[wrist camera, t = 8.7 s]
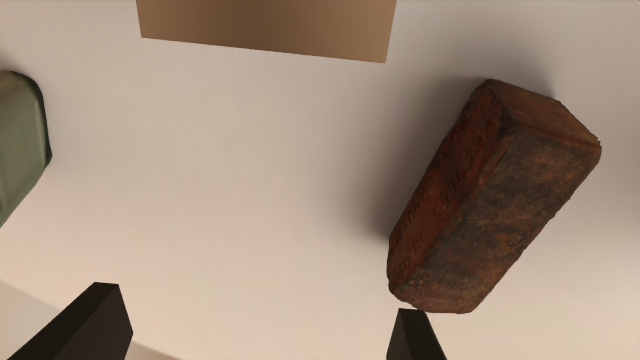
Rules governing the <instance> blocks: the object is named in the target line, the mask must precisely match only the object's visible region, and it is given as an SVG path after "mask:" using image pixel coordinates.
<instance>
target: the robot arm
mask: <svg viewBox="0 0 640 360" xmlns="http://www.w3.org/2000/svg"><path fill="white" fill-rule="evenodd" d="M132 336H133V330H132V327H131V324H130V320H129V317H128V314H127V311H126V308H125V304H124V301H123V298H122V295H121V291H120V288H119V285H118V284H112V283H100V282H94V283H93V284H92V285H91V286H89V287H88V288H87V289H86V290H85V291H84V292H83V293H82V294H80V295H79V296H78V297H77V298H76V299H75V300H74V301H73V302H72V303H70V304H69V305H68V306H67V307H66V308H65V309H64V310H63V311H62V312H61V313H60V314H58V315H57V316H56V317H55V318H54V319H53V320H52V321H51V322H50V323H48V324H47V325H46V326H45V327H44V328H43V329H42V330H41V331H39V332H38V333H37V334H36V335H35V336H34V337H33V338H32V339H30V340H29V341H28V342H27V343H26V344H25V345H23V346H22V347H21V348H20V349H19V350H18V351H17V352H15V353H14V354H13V355H12V356H11V357H10V358H8V359H7V360H124V359H125V356H126V353H127V350H128V347H129V344H130V342H131V339H132ZM386 359H387V360H447V358H446V356H445V354H444V352H443V350H442V348H441V346H440V344H439V342H438V340H437V337H436V335H435V333H434V331H433V329H432V326H431V324H430V322H429V319H428V317H427V314H426V313H425V312H424V311H423V310H415V309H403V308H399V310H398V314H397V317H396V321H395V325H394V329H393V332H392V336H391V340H390V343H389V347H388V351H387V355H386Z"/></svg>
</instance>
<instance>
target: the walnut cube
mask: <svg viewBox="0 0 640 360" xmlns="http://www.w3.org/2000/svg"><path fill="white" fill-rule="evenodd" d="M136 4H137V10H138V17H139V23H140V30H141V37H142V38H151V39H161V40H170V41H180V42H189V43H199V44H208V45H217V46H227V47H236V48H246V49H255V50H265V51H274V52H283V53H293V54H302V55H312V56H321V57H331V58H340V59H350V60H359V61H368V62H378V63H385V60H386V55H387V49H388V44H389V38H390V33H391V27H392V22H393V16H394V10H395V5H396V0H136Z"/></svg>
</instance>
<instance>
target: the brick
mask: <svg viewBox="0 0 640 360" xmlns="http://www.w3.org/2000/svg"><path fill="white" fill-rule="evenodd" d="M597 139H598V138H597V137H596V136H595V135H594V134H592V133H590V131H589V130H588V129H587V128H586V127H585V126H584V125H583V124H582V123H581V122H580V121H579V120H578V119H577V118H576V117H575V116H574V115H573V114H571V113H570V112H569V110H568V109H567V108H566V107H565V106H564V105H562V104H561V102H560V101H558V100H555V99H553V98H550V97H546V96H543V95H540V94H537V93H534V92H531V91H528V90H525V89H523V88H520V87H517V86H513V85H510V84H507V83H505V82H502V81H499V80H493V79H487V80H486V81H485V82H484V83H483V84H481V85H480V86H479V87H478V88H477V89H476V90H475V91H474V92H473V94H472V95H471V97H470V101H468V102H467V104H466V106H465V108H464V109H463V111H462V113H461V115H460V117H459V120H458V122H457V123H456V125H455V126H454V127H453V129H452V130H451V132H450V133H449V135H448V136H447V137H446V138H445V139H444V140H443V142H442V144H441V145H440V147H439V149H438V151H437V153H436V155H435V156H434V158H433V159H432V162H431V164H430V165H429V167H428V168H427V170H426V172H425V174H424V176H423V178H422V180H421V182H420V183H419V185H418V187H417V189H416V191H415V193H414V195H413V196H412V198H411V200H410V202H409V203H408V205H407V207H406V209H405V210H404V212H403V214H402V216H401V218H400V220H399V222H398V223H397V225H396V227H395V229H394V230H393V232H392V234H391V236H390V238H389V251H388V258H387V278H388V280H389V284H388V287H389V290H390V292H391V293H392V294H393V295H394V296H395V297H396V298H397V299H399V300H400V301H402V302H407V303H409V304H411V305H412V306H413V307H415V308H417V309H418V310H423V311H425V312H429V313H456V314H464V313H470V312H472V311H473V310H474V309H475V308H476V307H477V306H478V305H479V304H480V303H481V302H482V301H483V300H484V298H485V297H486V296H487V295H488V294H489V293H490V292H491V291H492V289H493V288H494V287H495V285H496V284H497V283H498V282H499V281H500V280H501V279H502V277H503V276H504V275H505V273H506V272H507V271H508V269H509V268H510V267H511V266H512V265H513V264H514V263H515V262H516V261H517V260H518V259H519V257H520V256H521V254H522V252H523V250H525V249H526V248H527V247H528V245H529V244H530V243H531V242H532V241H533V240H534V239H535V237H536V236H537V235H538V234H539V233H540V232H541V230H542V229H543V228H544V226H545V225H546V224H547V223H548V221H549V220H550V219H552V218H553V217H554V216H555V214H556V212H557V211H559V210H560V209H561V207H562V206H563V205H564V204H565V203H566V202H567V201H568V200H569V199H570V198H571V196H572V195H573V193H574V191H575V190H576V189H577V188H578V187H579V186H580V184H581V183H582V182H583V181H584V180H585V179H586V178H587V176H588V175H589V173H590V172H591V171H592V170H593V169H594V168H595V166H596V165H597V164H598V162H599V159H600V156H601V151H602V147H601V146H600V141H598V140H597Z"/></svg>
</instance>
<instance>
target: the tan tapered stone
mask: <svg viewBox="0 0 640 360" xmlns="http://www.w3.org/2000/svg"><path fill="white" fill-rule="evenodd" d="M51 158H52V152H51V148H50V143H49V137H48V128H47V121H46V115H45V109H44V101H43V96H42V93H41V91H40V89H39V87H38V85H37V84H36V83H35V82H34V81H33V80H32V79H30V78H28V77H26V76H24V75H22V74H18V73H16V72H13V71H0V228H1V227H2V225H3V224H4V223H5V222H6V220H7V219H8V218H9V216H10V215H11V214H12V212H13V211H14V210H15V208H16V207H17V206H18V205H19V204H20V202H21V201H22V200H23V199H24V198H25V197H26V195H27V194H28V193H29V192H30V191H31V190H32V189H33V187H34V186H35V185H36V183H37V182H38V180H39V178H40V177H41V175H42V173H43V171H44V170H45V168H46V167H47V166H48V164H49V163H50V161H51Z"/></svg>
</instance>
